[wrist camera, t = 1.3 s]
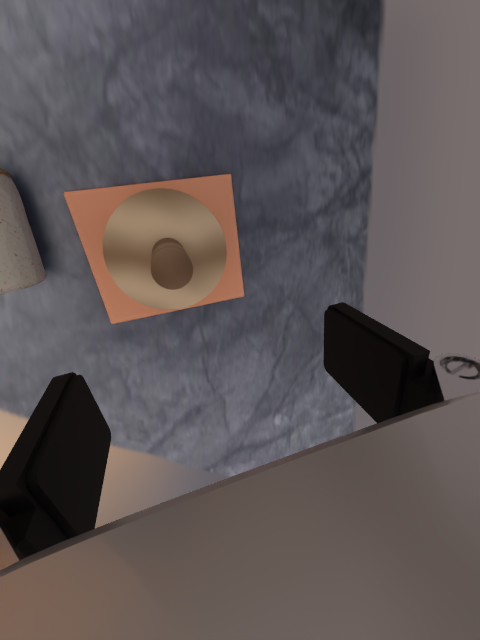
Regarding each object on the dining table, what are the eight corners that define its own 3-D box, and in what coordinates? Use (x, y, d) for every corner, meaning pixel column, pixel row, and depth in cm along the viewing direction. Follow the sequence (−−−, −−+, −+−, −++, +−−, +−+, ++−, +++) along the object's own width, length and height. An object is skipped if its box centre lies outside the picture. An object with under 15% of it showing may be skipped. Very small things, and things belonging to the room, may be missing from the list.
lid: (85, 196, 22) (58, 196, 16) (215, 181, 24) (236, 176, 18) (125, 316, 27) (116, 351, 21) (230, 294, 29) (250, 320, 23)
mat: (65, 192, 22) (63, 192, 21) (229, 174, 25) (230, 173, 24) (112, 321, 27) (111, 324, 27) (242, 294, 30) (244, 296, 29)
